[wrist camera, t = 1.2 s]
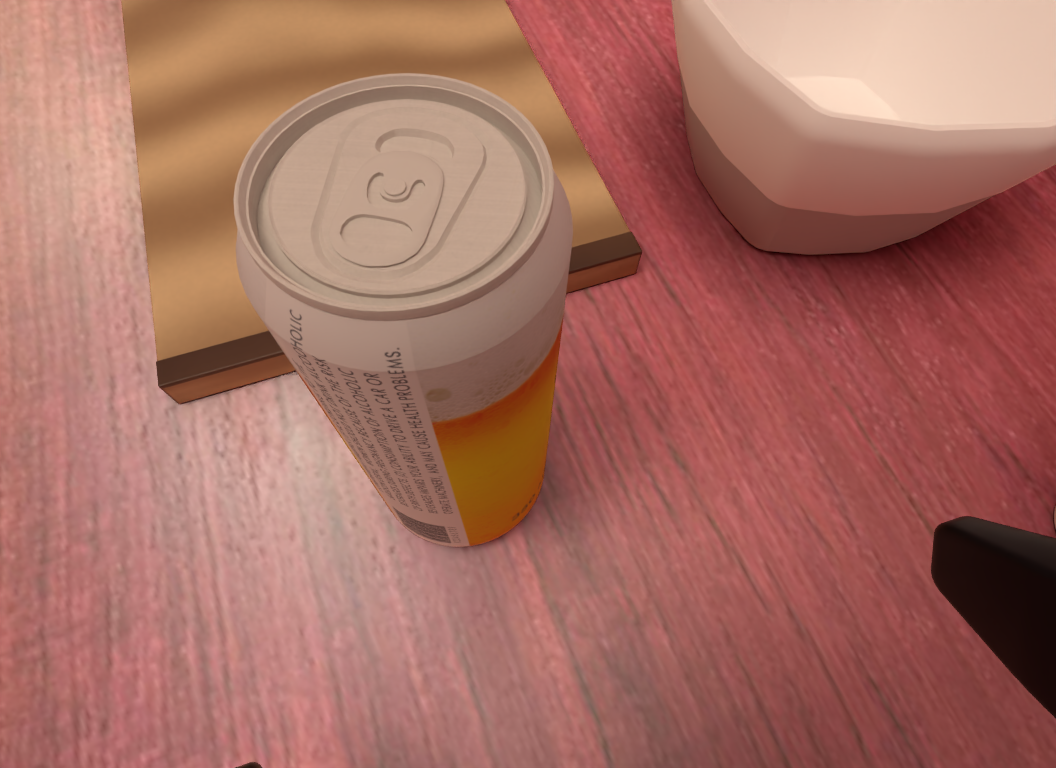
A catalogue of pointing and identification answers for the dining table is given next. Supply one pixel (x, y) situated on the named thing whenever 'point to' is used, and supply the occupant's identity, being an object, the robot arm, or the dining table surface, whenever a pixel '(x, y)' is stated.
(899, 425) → the dining table surface
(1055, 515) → the smoothie
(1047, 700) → the robot arm
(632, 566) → the dining table surface
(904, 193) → the bowl
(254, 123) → the board
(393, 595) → the dining table surface
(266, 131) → the beer can
